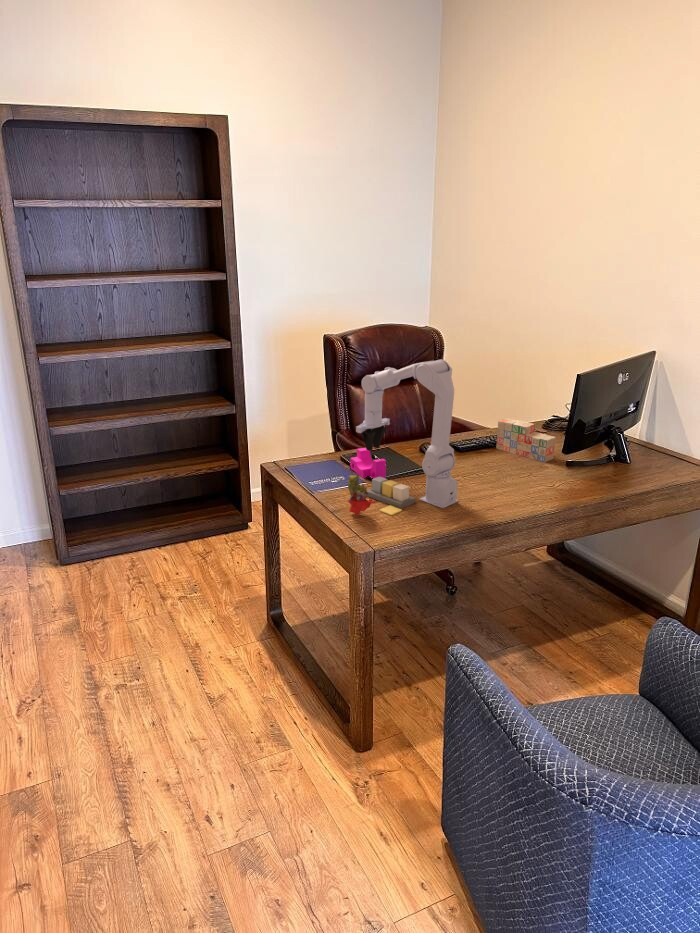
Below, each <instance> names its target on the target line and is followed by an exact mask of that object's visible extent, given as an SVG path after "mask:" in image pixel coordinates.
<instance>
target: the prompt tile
mask: <svg viewBox="0 0 700 933" xmlns="http://www.w3.org/2000/svg"><path fill="white" fill-rule="evenodd" d="M378 512H380V513H384V514H386V515H388V516H394V515H396V514H399V513H401V512H403V509H402V508H401V509H400V508H397V507H395V506H392V505H389V504H388V505H387V506H385V507H382V508H380V509H379V510H378Z"/></svg>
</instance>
